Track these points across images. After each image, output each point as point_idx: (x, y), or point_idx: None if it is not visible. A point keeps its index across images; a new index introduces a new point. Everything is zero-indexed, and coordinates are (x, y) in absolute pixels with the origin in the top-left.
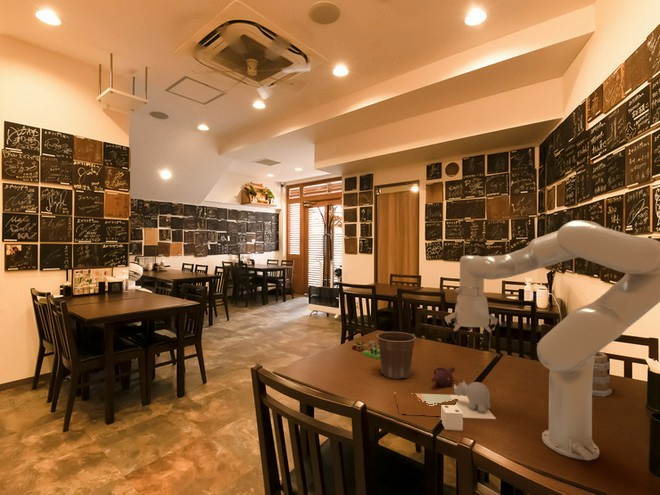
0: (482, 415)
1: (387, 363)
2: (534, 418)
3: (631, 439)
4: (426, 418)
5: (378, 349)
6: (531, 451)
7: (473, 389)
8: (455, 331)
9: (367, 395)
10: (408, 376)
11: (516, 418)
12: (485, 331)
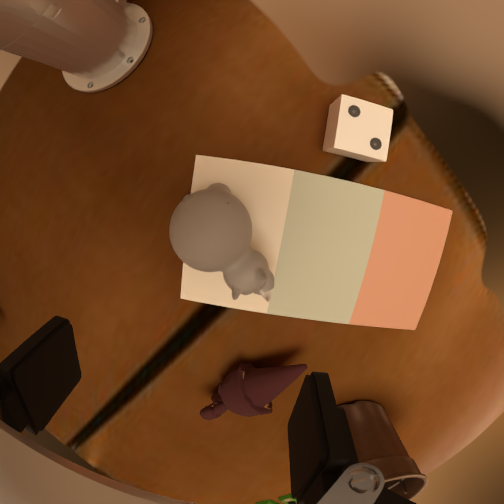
0: (227, 175)
1: (394, 430)
2: (94, 161)
3: (3, 99)
4: (399, 181)
5: None
6: (201, 18)
7: (235, 216)
8: (344, 467)
9: (468, 315)
10: None
11: (136, 159)
12: (19, 402)
